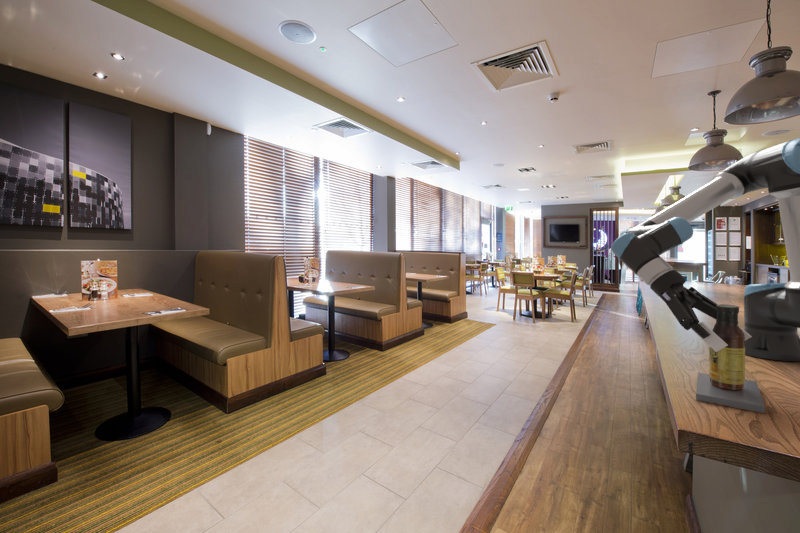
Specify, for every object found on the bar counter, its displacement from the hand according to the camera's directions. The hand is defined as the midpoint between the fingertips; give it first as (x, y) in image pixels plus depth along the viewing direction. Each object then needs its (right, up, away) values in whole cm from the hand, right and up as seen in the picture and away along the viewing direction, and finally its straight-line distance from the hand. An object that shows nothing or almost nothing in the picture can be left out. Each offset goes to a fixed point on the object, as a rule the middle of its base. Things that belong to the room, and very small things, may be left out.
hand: (734, 344), depth 81 cm
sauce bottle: (0, -11, +2) cm, 11 cm away
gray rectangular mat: (0, -12, +2) cm, 12 cm away
